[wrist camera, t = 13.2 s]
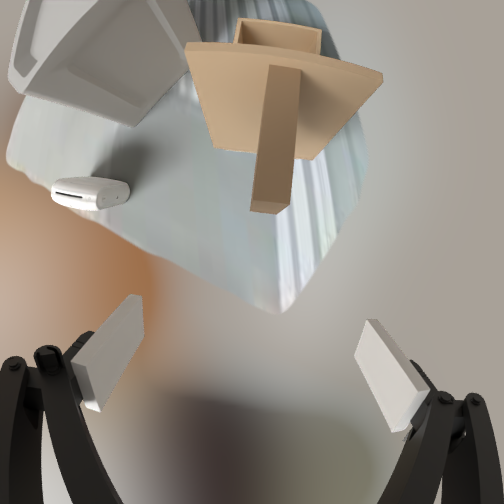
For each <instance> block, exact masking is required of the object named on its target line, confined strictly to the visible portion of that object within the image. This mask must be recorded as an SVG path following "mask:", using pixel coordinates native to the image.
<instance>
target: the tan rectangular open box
mask: <svg viewBox="0 0 504 504" xmlns="http://www.w3.org/2000/svg"><path fill="white" fill-rule="evenodd" d="M321 33H322V30H321V29H316V28H312V27H307V26H302V25H296V24H290V23H284V22H277V21H269V20H260V19H249V18H238V20H237V25H236V31H235V36H234V41H233V43H239V44H251V45H261V46H270V47H277V48H284V49H290V50H296V51H302V52H307V53H312V54H316V55H320V50H321ZM224 150H230V151H240V152H249V153H257V152H250V151H241V150H231V149H224ZM294 159H300V158H294Z"/></svg>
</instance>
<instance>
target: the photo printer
mask: <svg viewBox="0 0 504 504" xmlns="http://www.w3.org/2000/svg"><path fill="white" fill-rule="evenodd" d="M129 195H130V188H129V186H128V184H127V183H125V182H122V181H118V180H113V179H107V178H100V177H74V178H62V179H58V180H56V181H55V182H54V184H53V186H52V193H51V197H52V199H53V200H55V201H56V202H57V203H59V204H61V205H64V206H68V207H72V208H76V209H82V210H92V211H96V210H102V209H106V208H109V207H113V206H117V205H121V204H124V203H125V202H126V200H127V199H128V198H129Z"/></svg>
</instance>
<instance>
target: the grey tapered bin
mask: <svg viewBox="0 0 504 504" xmlns="http://www.w3.org/2000/svg"><path fill="white" fill-rule="evenodd" d="M187 42H203V41H202V39H201V36H200V33H199V31H198V28H197V26H196V23H195V20H194V18H193V15H192V13H191V10H190V7H189V5H188V2H187V0H26V2H25V5H24V8H23V11H22V15H21V18H20V21H19V24H18V28H17V32H16V36H15V40H14V44H13V49H12V53H11V58H10V64H9V70H8V80H9V82H10V83H11V85H12V86H13V87H14V88H15V89H16V91H17V92H18V93H20V94H24V95H28V96H32V97H36V98H40V99H43V100H47V101H50V102H54V103H58V104H61V105H64V106H68V107H71V108H74V109H77V110H81V111H84V112H87V113H90V114H93V115H96V116H99V117H102V118H105V119H108V120H111V121H114V122H117V123H119V124H122V125H125V126H128V127H131V128H134V127H135V126H137V124H138V123H139V122H140V121H141V120H142V118H143V117H144V116H145V115H146V114H147V113H148V112H149V110H150V109H151V108H152V107H153V106H154V105H155V104H156V103H157V102H158V101H159V99H160V98H161V97H162V96H163V95H164V94H165V93H166V92H167V91H168V90H169V89H170V88H171V87H172V86H173V85H174V84H175V83H176V82H177V81H178V80H179V79H180V78H181V77H182V76H183V75H184V74H185V73H186V72H187V71H188V70H189V65H188V62H187V59H186V56H185V52H184V50H185V47H186V44H187Z"/></svg>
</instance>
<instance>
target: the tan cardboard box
mask: <svg viewBox="0 0 504 504" xmlns="http://www.w3.org/2000/svg"><path fill="white" fill-rule="evenodd" d="M184 52H185V56H186V59H187V62H188V65H189V69H190V72H191V75H192V78H193V81H194V85H195V88H196V91H197V94H198V98H199V101H200V104H201V107H202V110H203V114H204V117H205V120H206V123H207V126H208V130H209V133H210V136H211V139H212V142H213V146H214V148H221V149H231V150H241V151H250V152H257V157H256V165H255V173H254V182H253V190H252V198H251V207H250V211H252V212H260V213H268V214H276V215H277V214H278V213H279V212H280V211H282V210H283V209H284V208H286V207H287V206H288V205H290V197H291V187H292V177H293V167H294V158H300V159H306V160H313V159H314V158H315V157H316V156H317V155H318V154H319V153H320V151H321V150H322V149H323V148H324V147H325V146H326V145H327V144H328V143H329V141H330V140H331V139H332V138H333V137H334V136H335V135H336V134H337V132H338V131H339V130H340V129H341V128H342V127H343V126H344V125H345V124H346V122H347V121H348V120H349V119H350V118H351V117H352V116H353V115H354V114H355V113H356V111H357V110H358V109H359V108H360V107H361V106H362V105H363V104H364V103H365V101H366V100H367V99H368V98H369V97H370V96H371V95H372V94H373V93H374V92H375V91H376V90H377V88H378V87H379V86H380V85H381V84H382V83H383V75H382V73H380V72H377V71H375V70H372V69H369V68H365V67H362V66H359V65H355V64H352V63H348V62H345V61H341V60H338V59H334V58H330V57H325V56H321V55H316V54H312V53H307V52H302V51H296V50H290V49H284V48H277V47H270V46H261V45H251V44H239V43H220V42H187V44H186V47H185V50H184Z"/></svg>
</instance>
